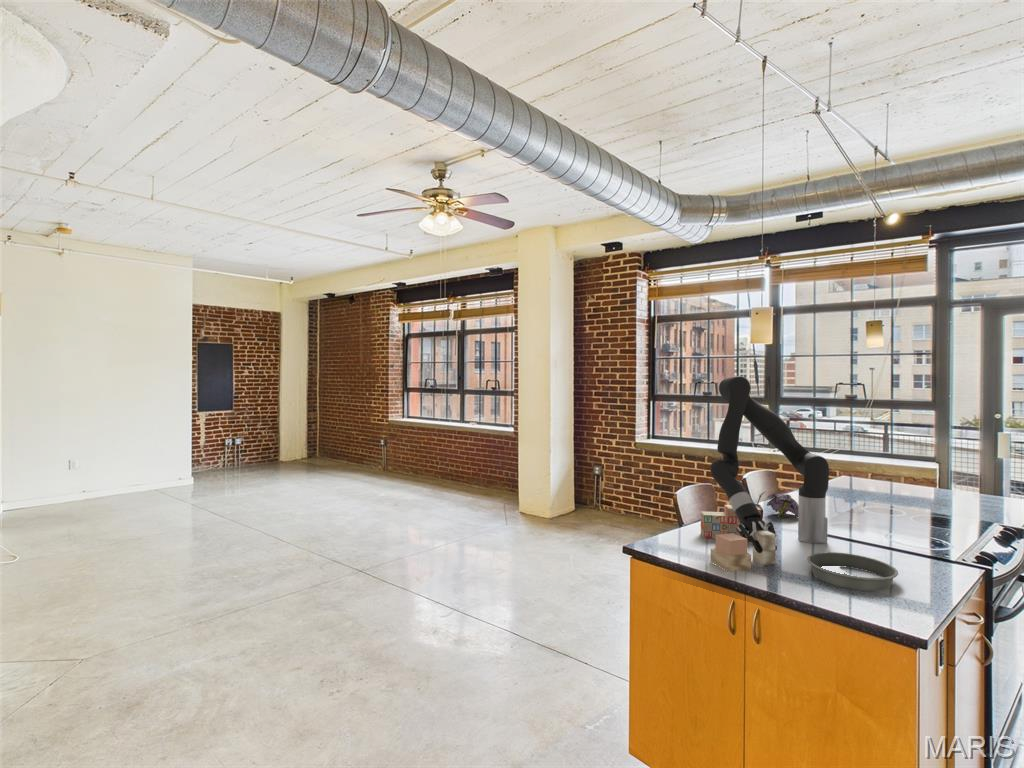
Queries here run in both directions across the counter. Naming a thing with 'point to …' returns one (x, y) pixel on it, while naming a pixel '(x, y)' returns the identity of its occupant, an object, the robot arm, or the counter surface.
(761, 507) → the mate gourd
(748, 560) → the tower base
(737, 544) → the tower top
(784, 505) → the decorative flower
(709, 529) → the stack of blocks
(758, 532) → the pillar
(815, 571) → the cake pan
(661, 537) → the counter surface
